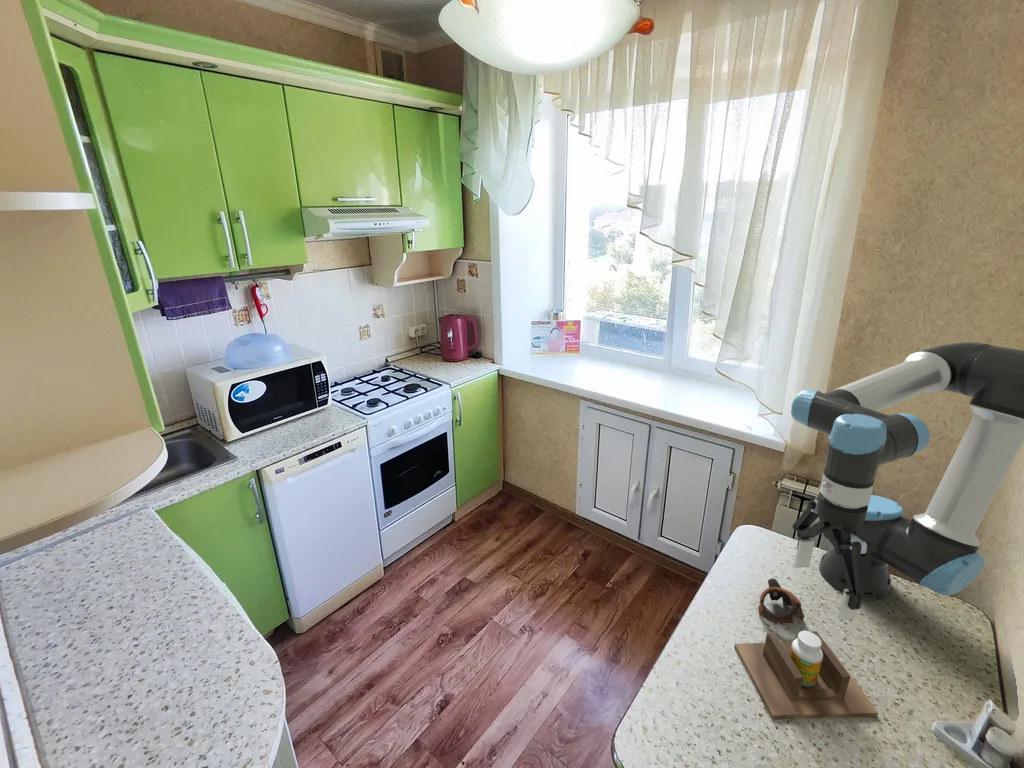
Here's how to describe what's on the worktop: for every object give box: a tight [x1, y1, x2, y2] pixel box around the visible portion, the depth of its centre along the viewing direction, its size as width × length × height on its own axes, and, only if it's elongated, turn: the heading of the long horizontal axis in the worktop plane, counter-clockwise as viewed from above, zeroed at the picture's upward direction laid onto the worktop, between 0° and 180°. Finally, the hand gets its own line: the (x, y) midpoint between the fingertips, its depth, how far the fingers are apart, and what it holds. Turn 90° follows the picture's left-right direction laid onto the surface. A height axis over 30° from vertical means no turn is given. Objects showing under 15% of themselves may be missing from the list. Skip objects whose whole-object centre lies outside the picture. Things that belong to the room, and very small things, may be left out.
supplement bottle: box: [789, 630, 823, 687], centre depth 96 cm, size 5×5×10 cm
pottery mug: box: [757, 577, 805, 626], centre depth 114 cm, size 12×10×8 cm
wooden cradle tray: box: [733, 630, 879, 720], centre depth 97 cm, size 20×16×7 cm
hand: (822, 590), depth 94 cm, fingers open, 13 cm apart
